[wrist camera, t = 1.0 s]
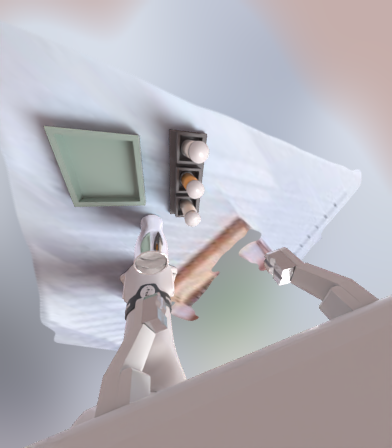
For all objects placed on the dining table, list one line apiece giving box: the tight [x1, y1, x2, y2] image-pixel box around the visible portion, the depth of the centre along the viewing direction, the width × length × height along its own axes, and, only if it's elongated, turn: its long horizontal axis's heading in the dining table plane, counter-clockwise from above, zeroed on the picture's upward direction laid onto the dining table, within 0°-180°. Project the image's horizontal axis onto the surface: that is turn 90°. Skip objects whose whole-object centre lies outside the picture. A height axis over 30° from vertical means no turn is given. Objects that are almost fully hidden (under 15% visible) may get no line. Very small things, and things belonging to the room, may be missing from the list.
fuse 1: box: [181, 139, 209, 164], centre depth 27 cm, size 3×3×9 cm
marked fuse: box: [180, 171, 204, 199], centre depth 31 cm, size 3×3×9 cm
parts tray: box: [43, 126, 146, 207], centre depth 29 cm, size 14×14×3 cm
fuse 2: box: [179, 199, 201, 226], centre depth 34 cm, size 3×3×9 cm
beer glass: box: [133, 214, 169, 275], centre depth 33 cm, size 7×7×15 cm
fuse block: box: [169, 129, 207, 217], centre depth 34 cm, size 19×8×4 cm, turn 175°
